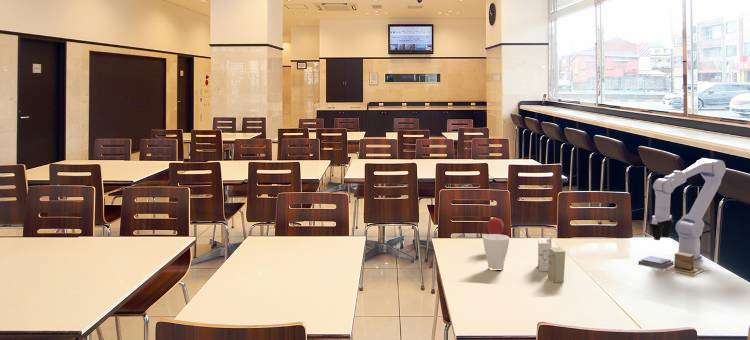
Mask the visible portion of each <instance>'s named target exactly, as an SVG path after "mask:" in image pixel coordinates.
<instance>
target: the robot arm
mask: <svg viewBox="0 0 750 340" xmlns="http://www.w3.org/2000/svg"><path fill="white" fill-rule="evenodd" d="M726 171H727V167H726V164H725V161H723V160H721V159H712V158H707V157H701V158H700V159H698V160H696V162H694V163H693V164H692V165H690V166H689V167H687V168H686V169H684V170H673V172H672V173H670V174H669V175H665V176H664V177H663V178H657V179H656V180H654V182H653V184H652V188H653V190H654V195H655V200H654V201H655V205H654V215H652V216H651V218H652V219H651V221H650V222H649V227H650V229H651V231H652V235H653V239H654V240H655V241H660V240H661V236H662V237H663V238H669V234H670V233H671V232H670V231H671V230H672V227H673V225H674V223H675V220H673V215H672V214H671V196H672V195H671V194H672V193H673V192H674V190H675V189H676V188H677V187H679V186H681V185H683V184H684V183H686V182H687V179H689V178H690V177H691V178H692V177H693V176H695V175H697V174H700V175H701V176H702V178H703V180H704V184H703V187H702V188H701V190H700V192H699V194H698V196H697V197H696V198H695V201H694V203H693V205H692V207H691V209H690V210H689V213H687V214H684V215H682V216H681V218H680V219H679V220H678V221H677V222H676V224H675V231H676V233H677V235H678V252H682V253H688V254H693V255H694V261H695V260H697V259H699V258H701V257H702V256H703V255H702V254H701V240H700V239H701V238H700V237H701V236H702V235H703V232H704V231H703V230H704V227H705V222H704V220H703V219H704V218H703V217H705V216H704V215H705V214H706V212H707V211H708V209H709V207H710V205H711V203H712V201H713V198H714V197H715V195H716V193H717V191H718V190H719V187H720V186H721V184H722V179H723V177H724V175H725V173H726Z"/></svg>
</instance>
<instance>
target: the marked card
mask: <svg viewBox="0 0 750 340" xmlns="http://www.w3.org/2000/svg"><path fill="white" fill-rule="evenodd" d="M665 271H671V272H676V273H679V274H680V273H681V274H685V275H691V276H696V275H698V274H700V273H702V272H704V271H706V268H701V267H697V266H694V269H693V270H691V271H686V270H681V269H676V268H674V264H672V265H670V266H668V267H666V269H665Z"/></svg>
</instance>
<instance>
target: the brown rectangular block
mask: <svg viewBox="0 0 750 340" xmlns="http://www.w3.org/2000/svg"><path fill="white" fill-rule="evenodd" d="M673 261H674V262H673V265H674V268H676V269H681V270H686V271H691V270H693V269H694V267H695V260H694V255H693V254H688V253H682V252H679V251H677V252H676V253H674V260H673Z"/></svg>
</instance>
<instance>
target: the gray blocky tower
mask: <svg viewBox="0 0 750 340" xmlns="http://www.w3.org/2000/svg"><path fill="white" fill-rule="evenodd" d="M537 243H538V244H537V249H538V250H537V255H538V258H537V267H539V268H538V272H547V271H548V262H549V248H552V234H551V232H550V231H549V238H538V241H537Z"/></svg>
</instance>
